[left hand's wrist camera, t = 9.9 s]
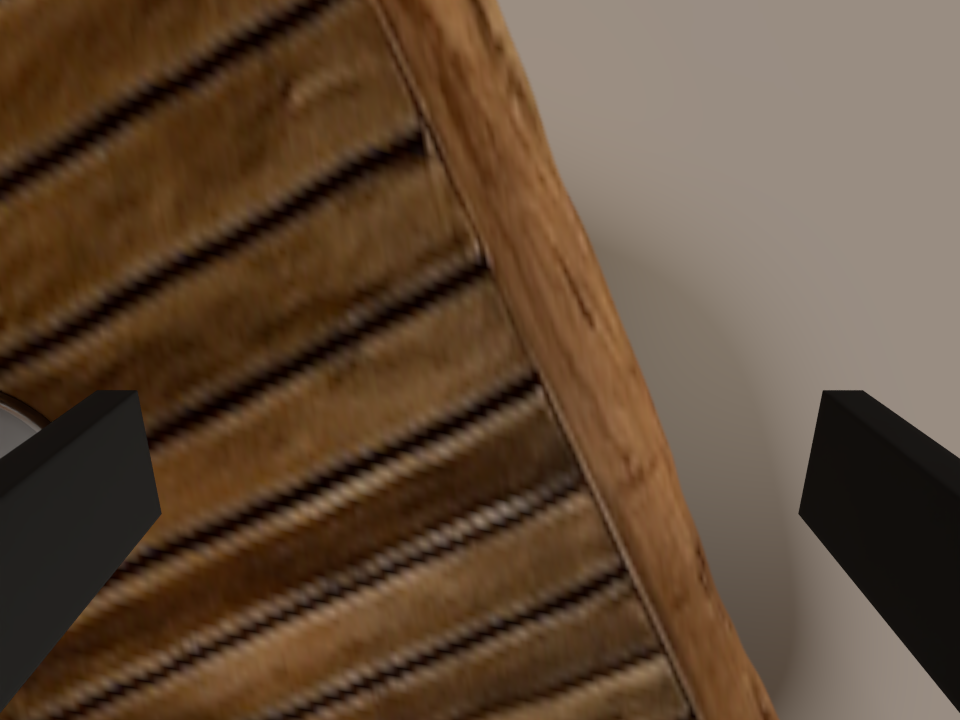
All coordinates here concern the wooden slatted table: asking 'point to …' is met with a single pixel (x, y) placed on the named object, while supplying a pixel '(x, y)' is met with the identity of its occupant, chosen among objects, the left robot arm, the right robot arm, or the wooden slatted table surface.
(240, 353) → the wooden slatted table surface
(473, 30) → the wooden slatted table surface
